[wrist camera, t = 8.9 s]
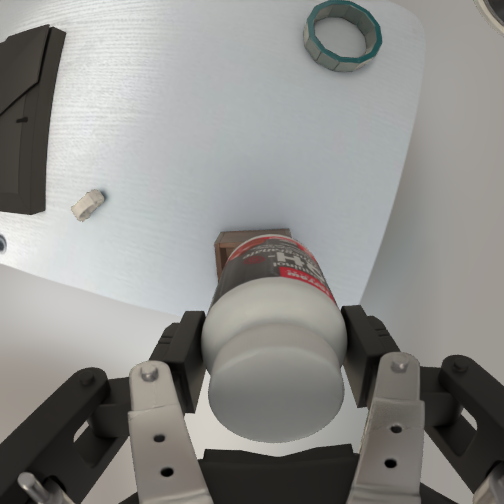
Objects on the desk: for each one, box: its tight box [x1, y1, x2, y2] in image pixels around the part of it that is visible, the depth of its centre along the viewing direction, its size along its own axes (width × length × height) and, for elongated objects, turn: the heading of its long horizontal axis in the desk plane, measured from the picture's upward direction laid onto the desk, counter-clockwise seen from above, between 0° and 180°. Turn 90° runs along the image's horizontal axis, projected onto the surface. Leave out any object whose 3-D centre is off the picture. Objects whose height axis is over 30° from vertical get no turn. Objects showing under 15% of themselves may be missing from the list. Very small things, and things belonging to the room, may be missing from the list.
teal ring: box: [303, 0, 382, 72], centre depth 25 cm, size 7×7×4 cm
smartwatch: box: [71, 189, 104, 222], centre depth 31 cm, size 4×2×4 cm, turn 125°
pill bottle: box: [201, 234, 348, 443], centre depth 13 cm, size 5×5×10 cm
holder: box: [214, 229, 292, 283], centre depth 33 cm, size 7×7×4 cm
